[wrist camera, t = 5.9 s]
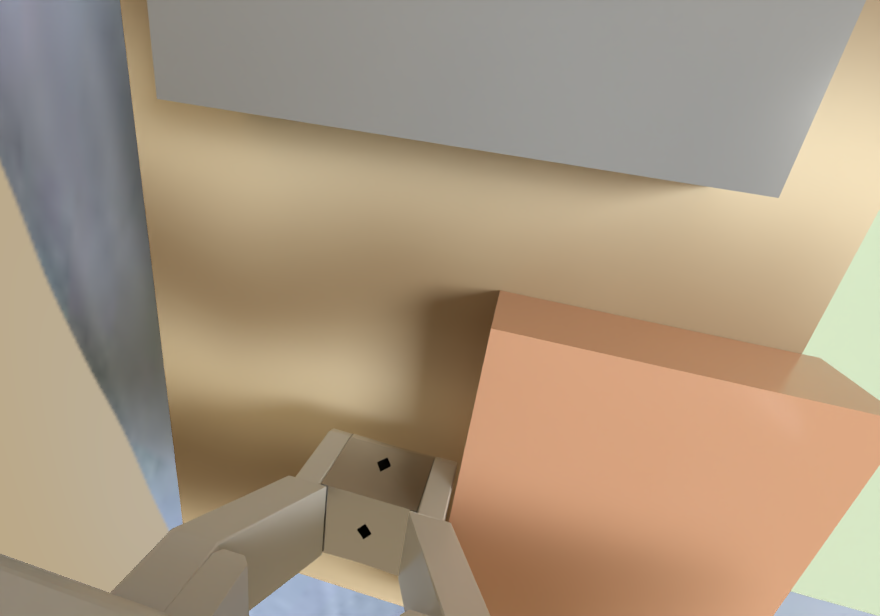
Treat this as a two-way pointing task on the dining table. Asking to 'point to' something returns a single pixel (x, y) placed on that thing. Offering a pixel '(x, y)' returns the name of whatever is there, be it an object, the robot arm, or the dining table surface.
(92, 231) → the dining table surface
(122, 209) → the dining table surface
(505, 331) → the terracotta tile
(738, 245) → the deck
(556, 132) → the slate tile
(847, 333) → the mat
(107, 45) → the dining table surface
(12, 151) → the dining table surface
